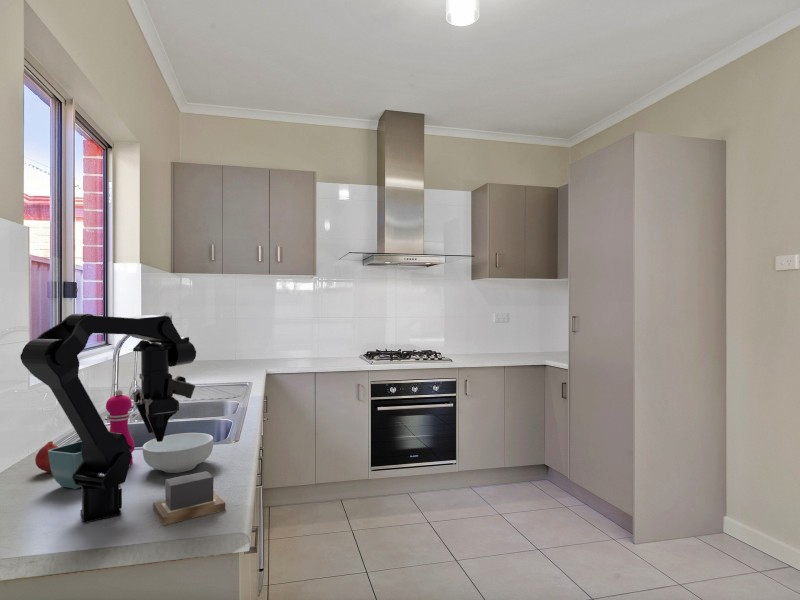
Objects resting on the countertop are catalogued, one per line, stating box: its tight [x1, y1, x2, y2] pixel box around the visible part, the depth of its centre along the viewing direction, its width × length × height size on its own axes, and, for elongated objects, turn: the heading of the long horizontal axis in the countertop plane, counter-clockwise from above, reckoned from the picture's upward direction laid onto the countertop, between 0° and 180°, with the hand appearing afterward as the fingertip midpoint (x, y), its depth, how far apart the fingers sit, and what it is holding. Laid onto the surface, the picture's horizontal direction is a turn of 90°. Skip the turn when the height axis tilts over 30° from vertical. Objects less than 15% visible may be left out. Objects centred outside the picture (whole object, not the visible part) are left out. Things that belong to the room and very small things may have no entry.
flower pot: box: [48, 440, 101, 490], centre depth 120 cm, size 9×9×9 cm
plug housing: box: [164, 470, 214, 511], centre depth 106 cm, size 8×4×5 cm, turn 127°
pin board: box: [152, 490, 226, 526], centre depth 106 cm, size 12×9×2 cm
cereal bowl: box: [142, 432, 214, 474], centre depth 132 cm, size 17×17×7 cm
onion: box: [34, 440, 59, 474], centre depth 129 cm, size 6×6×8 cm
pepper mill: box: [105, 388, 136, 466], centre depth 134 cm, size 7×7×20 cm
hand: (155, 436), depth 118 cm, fingers open, 9 cm apart
